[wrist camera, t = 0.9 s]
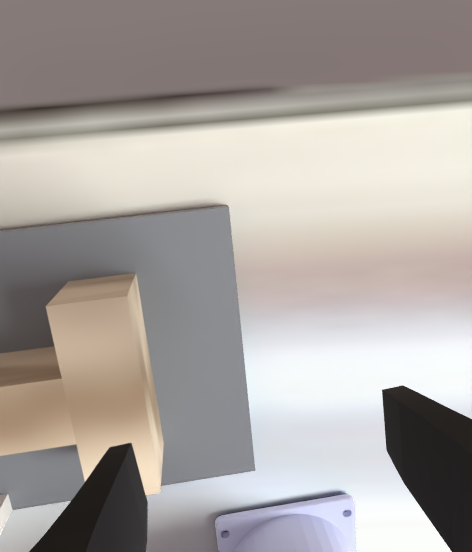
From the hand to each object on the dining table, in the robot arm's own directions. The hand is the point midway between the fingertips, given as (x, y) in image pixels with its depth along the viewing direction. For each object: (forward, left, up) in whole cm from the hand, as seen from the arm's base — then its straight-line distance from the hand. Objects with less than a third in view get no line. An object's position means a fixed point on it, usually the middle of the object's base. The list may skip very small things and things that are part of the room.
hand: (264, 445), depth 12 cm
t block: (-1, +9, -9) cm, 13 cm away
